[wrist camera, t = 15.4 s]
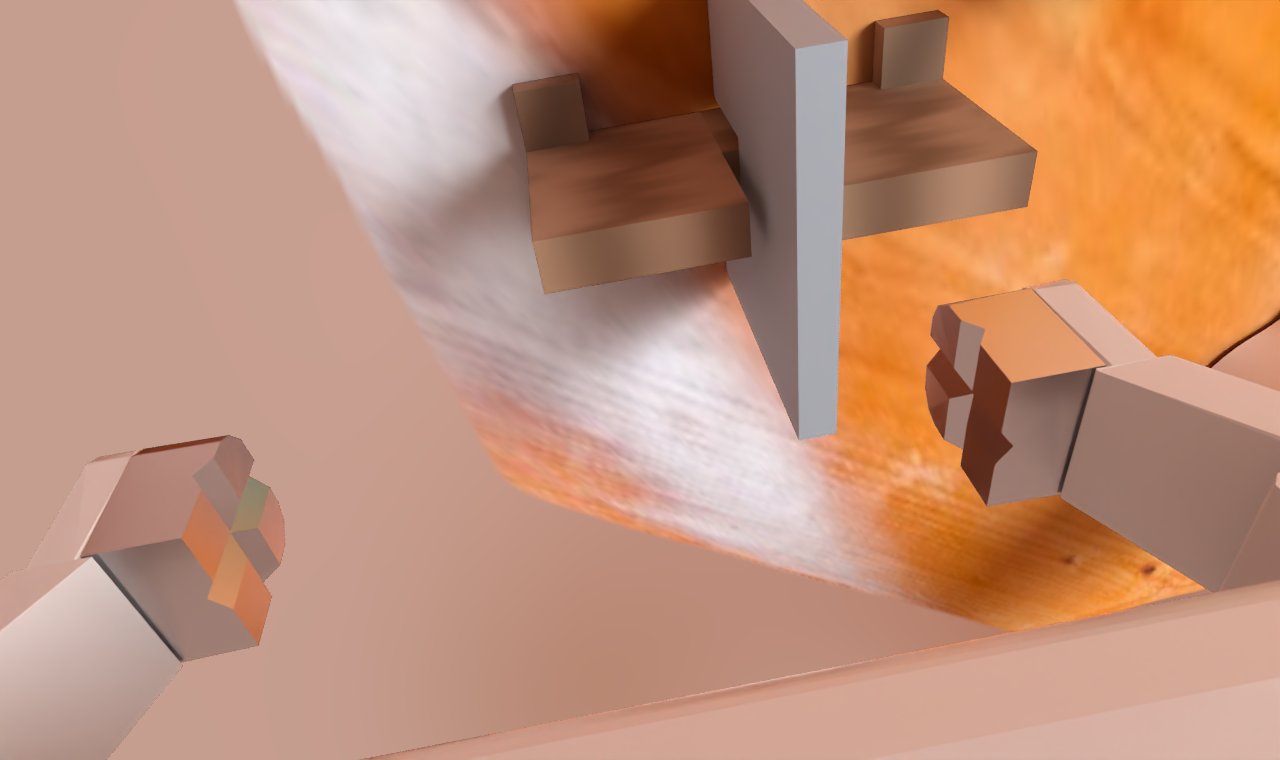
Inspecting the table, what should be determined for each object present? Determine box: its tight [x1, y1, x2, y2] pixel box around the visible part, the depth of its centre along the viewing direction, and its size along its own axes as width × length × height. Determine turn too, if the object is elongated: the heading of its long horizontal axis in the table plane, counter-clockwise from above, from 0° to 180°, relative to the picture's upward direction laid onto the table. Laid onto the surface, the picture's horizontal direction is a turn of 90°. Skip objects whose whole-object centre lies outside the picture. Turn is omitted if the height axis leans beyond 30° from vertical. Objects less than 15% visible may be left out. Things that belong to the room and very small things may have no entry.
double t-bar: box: [513, 10, 1037, 294], centre depth 37 cm, size 20×8×10 cm, turn 97°
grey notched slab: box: [707, 0, 848, 440], centre depth 35 cm, size 16×2×14 cm, turn 7°
